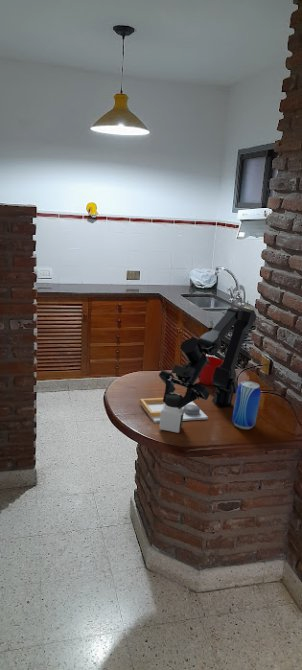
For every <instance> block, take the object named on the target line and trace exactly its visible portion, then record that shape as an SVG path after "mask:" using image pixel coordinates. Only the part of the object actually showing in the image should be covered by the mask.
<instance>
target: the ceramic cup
mask: <svg viewBox="0 0 302 670" xmlns="http://www.w3.org/2000/svg"><path fill="white" fill-rule="evenodd" d="M206 357H208V358H209V365H205V366H204V368H203V370H202V371H201V373H200V376H201V377H200V378H199V379H198V380H199V382H200V383H201V385H204V386H206V385H207V386H213V381H212V378H213V375H214V372H215V369H216V367H219V366H220V365H222V363H223V360H224V359H221V358H220V357H219V358H218V357H215V356H210V355H206Z"/></svg>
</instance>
